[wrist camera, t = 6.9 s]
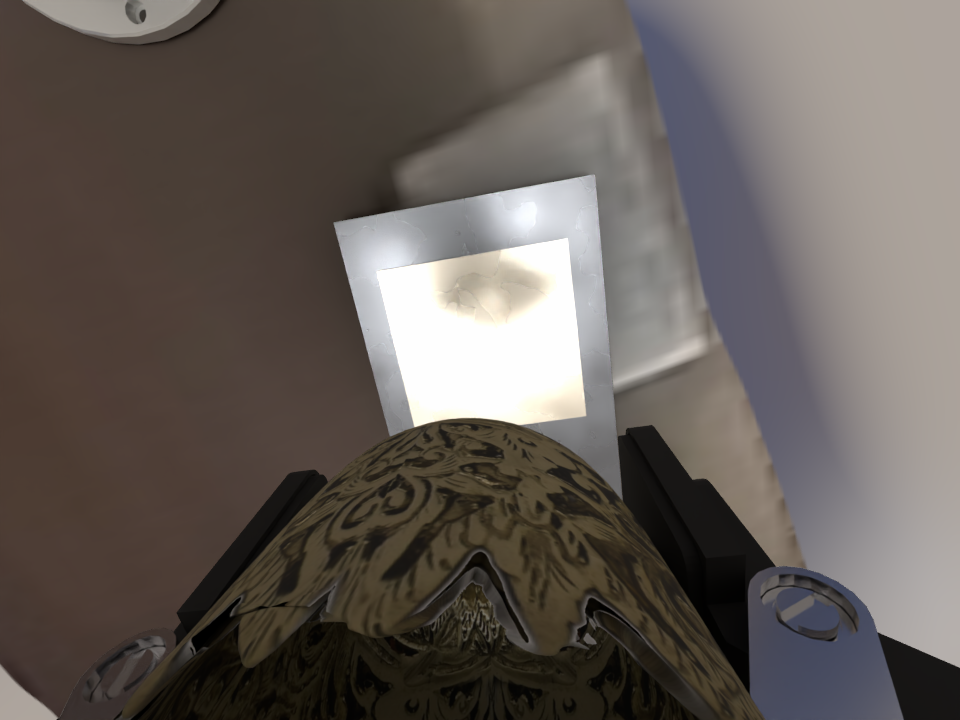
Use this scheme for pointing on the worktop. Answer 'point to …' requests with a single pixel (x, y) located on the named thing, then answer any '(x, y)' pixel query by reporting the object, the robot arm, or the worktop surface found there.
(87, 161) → the worktop surface
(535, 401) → the base
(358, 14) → the worktop surface
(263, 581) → the dark brown rounded piece
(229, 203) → the worktop surface
